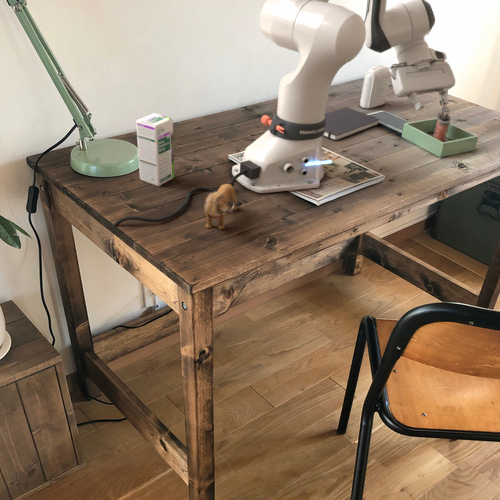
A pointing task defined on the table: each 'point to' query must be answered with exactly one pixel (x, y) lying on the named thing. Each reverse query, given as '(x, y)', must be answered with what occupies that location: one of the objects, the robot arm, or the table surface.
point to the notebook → (347, 123)
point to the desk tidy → (460, 137)
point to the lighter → (442, 124)
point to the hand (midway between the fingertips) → (432, 106)
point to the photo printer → (375, 87)
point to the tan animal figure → (219, 204)
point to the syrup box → (155, 149)
